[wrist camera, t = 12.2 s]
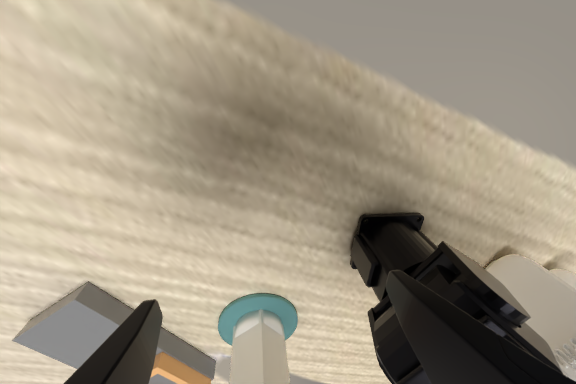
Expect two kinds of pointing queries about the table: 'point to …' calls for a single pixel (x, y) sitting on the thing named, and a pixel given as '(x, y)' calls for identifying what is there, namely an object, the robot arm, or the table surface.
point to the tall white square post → (259, 350)
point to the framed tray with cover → (98, 327)
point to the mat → (253, 304)
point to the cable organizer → (544, 303)
